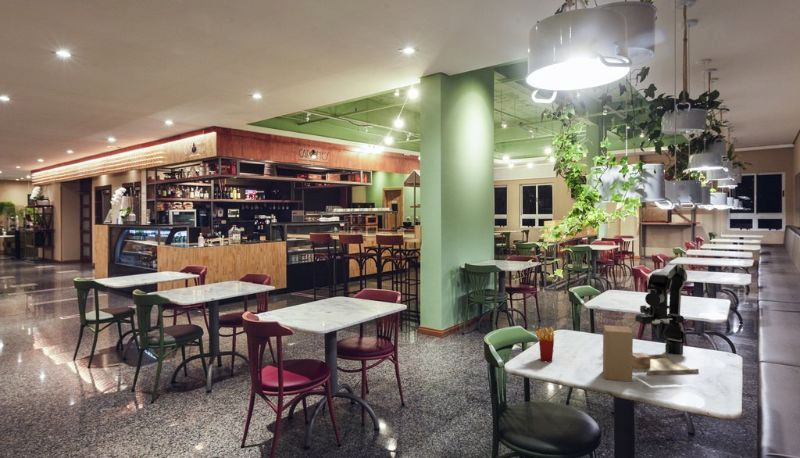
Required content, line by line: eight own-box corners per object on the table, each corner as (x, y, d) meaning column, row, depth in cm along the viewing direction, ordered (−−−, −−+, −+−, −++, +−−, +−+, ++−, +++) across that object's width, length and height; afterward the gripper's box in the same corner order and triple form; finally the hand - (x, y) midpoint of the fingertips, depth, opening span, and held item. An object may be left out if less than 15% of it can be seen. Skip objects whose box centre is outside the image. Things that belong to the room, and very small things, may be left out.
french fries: (554, 363, 205) (554, 330, 205) (535, 361, 208) (535, 328, 207) (554, 357, 214) (554, 325, 213) (535, 355, 216) (535, 324, 216)
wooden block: (628, 373, 192) (629, 326, 191) (632, 382, 182) (632, 332, 181) (602, 371, 195) (603, 324, 194) (605, 379, 186) (605, 330, 185)
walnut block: (641, 363, 201) (641, 352, 201) (650, 368, 195) (650, 357, 195) (628, 364, 201) (628, 353, 200) (636, 369, 195) (636, 357, 194)
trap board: (666, 358, 209) (666, 354, 209) (698, 374, 189) (698, 369, 189) (620, 360, 208) (620, 355, 207) (647, 377, 188) (647, 371, 188)
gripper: (668, 298, 206) (667, 332, 207) (628, 299, 204) (627, 333, 205) (685, 303, 195) (684, 339, 195) (643, 304, 193) (643, 341, 194)
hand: (659, 338), depth 198 cm, fingers closed
